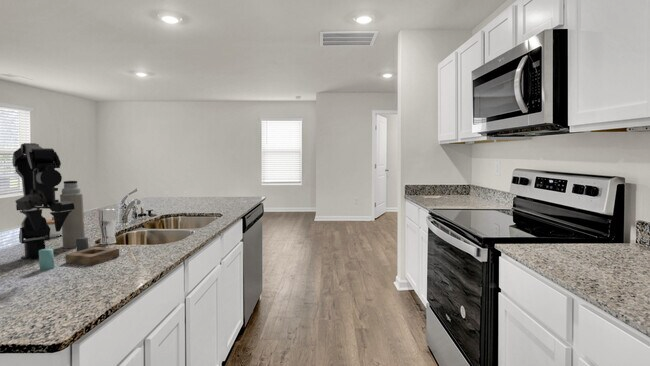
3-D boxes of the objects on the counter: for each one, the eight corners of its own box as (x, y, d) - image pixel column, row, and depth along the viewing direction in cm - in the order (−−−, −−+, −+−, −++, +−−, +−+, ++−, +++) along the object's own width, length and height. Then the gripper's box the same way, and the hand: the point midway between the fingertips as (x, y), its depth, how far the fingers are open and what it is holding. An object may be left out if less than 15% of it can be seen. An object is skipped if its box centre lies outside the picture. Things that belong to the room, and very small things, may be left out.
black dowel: (74, 254, 149) (73, 239, 149) (83, 251, 153) (82, 237, 152) (82, 255, 148) (81, 239, 148) (91, 252, 152) (90, 237, 151)
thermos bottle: (79, 242, 169) (76, 180, 167) (88, 245, 164) (85, 180, 162) (59, 246, 162) (55, 181, 160) (68, 248, 158) (64, 181, 156)
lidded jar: (34, 238, 179) (33, 218, 179) (54, 233, 190) (53, 214, 189) (54, 238, 177) (53, 219, 177) (73, 234, 188) (71, 215, 187)
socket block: (66, 262, 137) (65, 254, 137) (94, 254, 149) (94, 246, 149) (92, 265, 134) (91, 256, 134) (119, 256, 145) (119, 248, 145)
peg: (36, 269, 129) (35, 250, 129) (48, 266, 133) (47, 248, 133) (45, 270, 128) (44, 251, 128) (57, 267, 132) (55, 248, 131)
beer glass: (103, 245, 163) (101, 211, 162) (96, 243, 167) (94, 209, 166) (120, 242, 169) (118, 209, 168) (112, 240, 173) (111, 207, 172)
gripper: (-3, 187, 123) (1, 234, 124) (43, 187, 119) (46, 237, 120) (31, 184, 134) (34, 228, 135) (74, 185, 130) (77, 230, 131)
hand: (47, 230), depth 130 cm, fingers open, 9 cm apart
